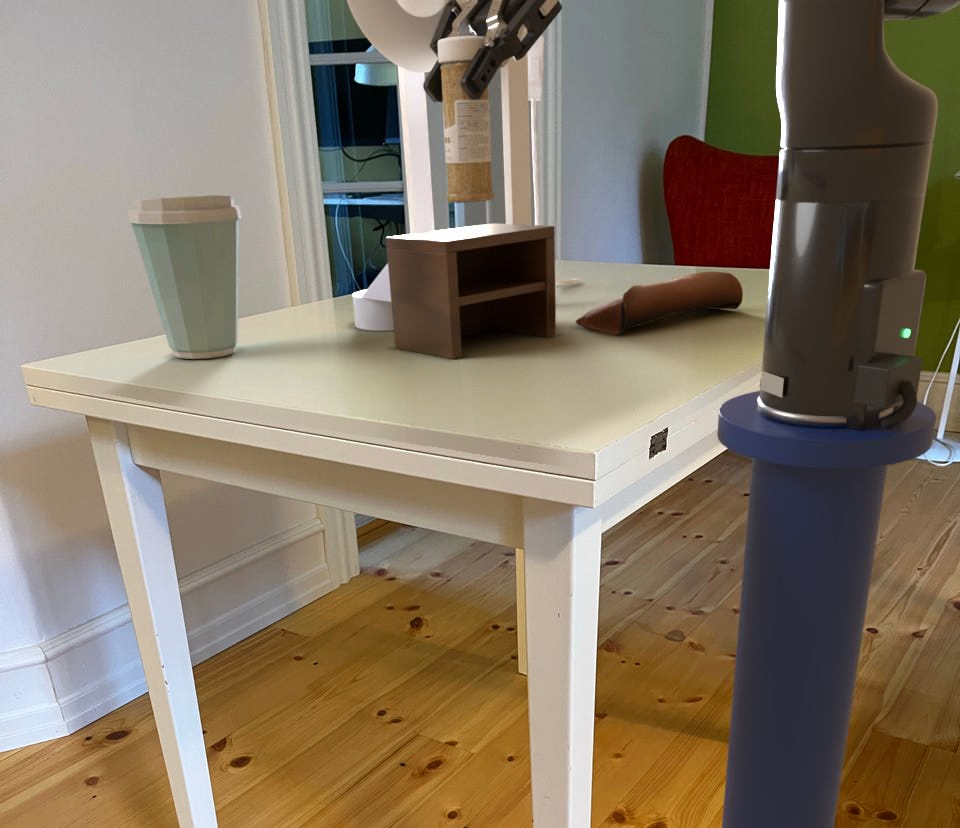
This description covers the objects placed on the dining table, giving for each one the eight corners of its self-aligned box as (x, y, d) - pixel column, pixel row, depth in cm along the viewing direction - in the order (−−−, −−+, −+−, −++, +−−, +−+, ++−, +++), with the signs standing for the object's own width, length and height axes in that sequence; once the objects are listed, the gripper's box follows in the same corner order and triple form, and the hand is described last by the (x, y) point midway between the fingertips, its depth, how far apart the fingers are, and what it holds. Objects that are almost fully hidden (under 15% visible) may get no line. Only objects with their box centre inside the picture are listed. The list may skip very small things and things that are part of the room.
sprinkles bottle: (445, 201, 96) (435, 40, 90) (492, 198, 97) (485, 37, 90) (448, 204, 92) (438, 36, 86) (496, 201, 92) (490, 33, 86)
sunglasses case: (684, 299, 114) (710, 247, 109) (723, 337, 112) (752, 286, 106) (569, 322, 105) (591, 267, 100) (609, 364, 102) (634, 310, 97)
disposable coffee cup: (151, 350, 104) (120, 195, 98) (252, 339, 108) (230, 188, 101) (159, 369, 96) (127, 200, 89) (270, 356, 99) (247, 192, 92)
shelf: (556, 335, 101) (554, 226, 97) (452, 359, 93) (445, 241, 88) (496, 326, 107) (492, 223, 103) (394, 348, 99) (385, 237, 95)
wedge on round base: (475, 324, 109) (400, 313, 118) (472, 259, 106) (395, 253, 115) (412, 337, 104) (339, 325, 112) (407, 270, 101) (332, 263, 109)
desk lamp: (338, 312, 121) (287, -149, 100) (511, 277, 141) (499, -112, 120) (460, 327, 108) (431, -200, 87) (632, 286, 128) (641, -149, 107)
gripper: (466, -84, 92) (375, 66, 91) (578, -114, 83) (478, 53, 81) (509, -14, 98) (424, 128, 97) (619, -35, 88) (526, 123, 87)
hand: (450, 93), depth 89 cm, fingers closed on sprinkles bottle, 4 cm apart
